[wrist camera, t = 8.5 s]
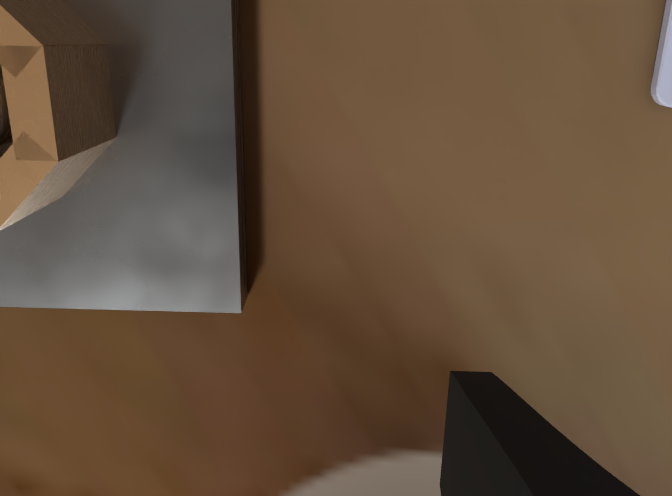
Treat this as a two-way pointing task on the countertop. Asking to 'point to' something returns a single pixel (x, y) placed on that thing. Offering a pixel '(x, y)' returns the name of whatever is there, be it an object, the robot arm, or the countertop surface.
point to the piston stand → (147, 174)
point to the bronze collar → (50, 103)
